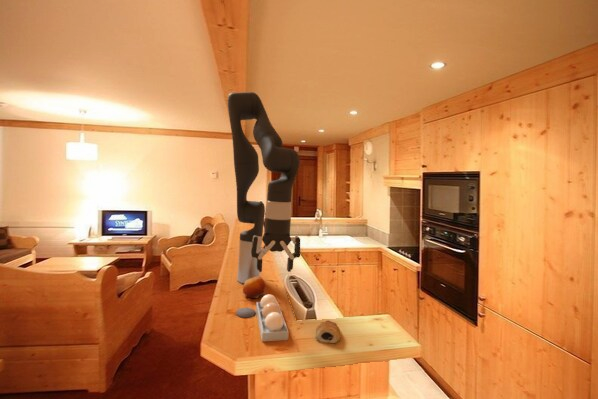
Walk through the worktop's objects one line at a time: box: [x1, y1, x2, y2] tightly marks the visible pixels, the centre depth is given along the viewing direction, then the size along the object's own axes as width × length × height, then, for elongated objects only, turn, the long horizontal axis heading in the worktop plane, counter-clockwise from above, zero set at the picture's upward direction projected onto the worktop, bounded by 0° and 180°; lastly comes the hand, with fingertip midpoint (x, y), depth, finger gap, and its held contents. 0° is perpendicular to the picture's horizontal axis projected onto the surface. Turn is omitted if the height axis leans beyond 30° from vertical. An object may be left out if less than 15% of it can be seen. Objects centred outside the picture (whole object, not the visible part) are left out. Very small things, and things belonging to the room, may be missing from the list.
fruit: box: [242, 276, 266, 299], centre depth 105 cm, size 8×8×8 cm
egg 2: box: [265, 312, 284, 332], centre depth 80 cm, size 5×5×5 cm
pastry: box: [314, 320, 341, 344], centre depth 81 cm, size 9×7×4 cm
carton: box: [255, 301, 290, 342], centre depth 86 cm, size 19×7×2 cm, turn 13°
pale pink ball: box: [262, 303, 281, 318], centre depth 86 cm, size 5×5×5 cm
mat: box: [235, 307, 256, 319], centre depth 91 cm, size 6×6×1 cm
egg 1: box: [259, 293, 278, 309], centre depth 92 cm, size 5×5×5 cm
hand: (274, 271), depth 85 cm, fingers open, 8 cm apart
